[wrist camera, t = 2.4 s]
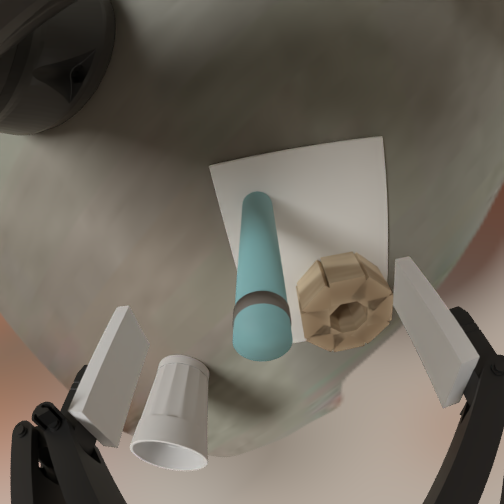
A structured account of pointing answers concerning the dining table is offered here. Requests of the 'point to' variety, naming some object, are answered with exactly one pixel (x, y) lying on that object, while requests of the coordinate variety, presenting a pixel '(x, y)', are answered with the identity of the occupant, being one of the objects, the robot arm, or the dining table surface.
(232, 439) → the dining table surface
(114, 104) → the dining table surface
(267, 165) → the mat
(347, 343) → the bead
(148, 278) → the dining table surface
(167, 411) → the cup
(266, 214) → the teal marker pen
